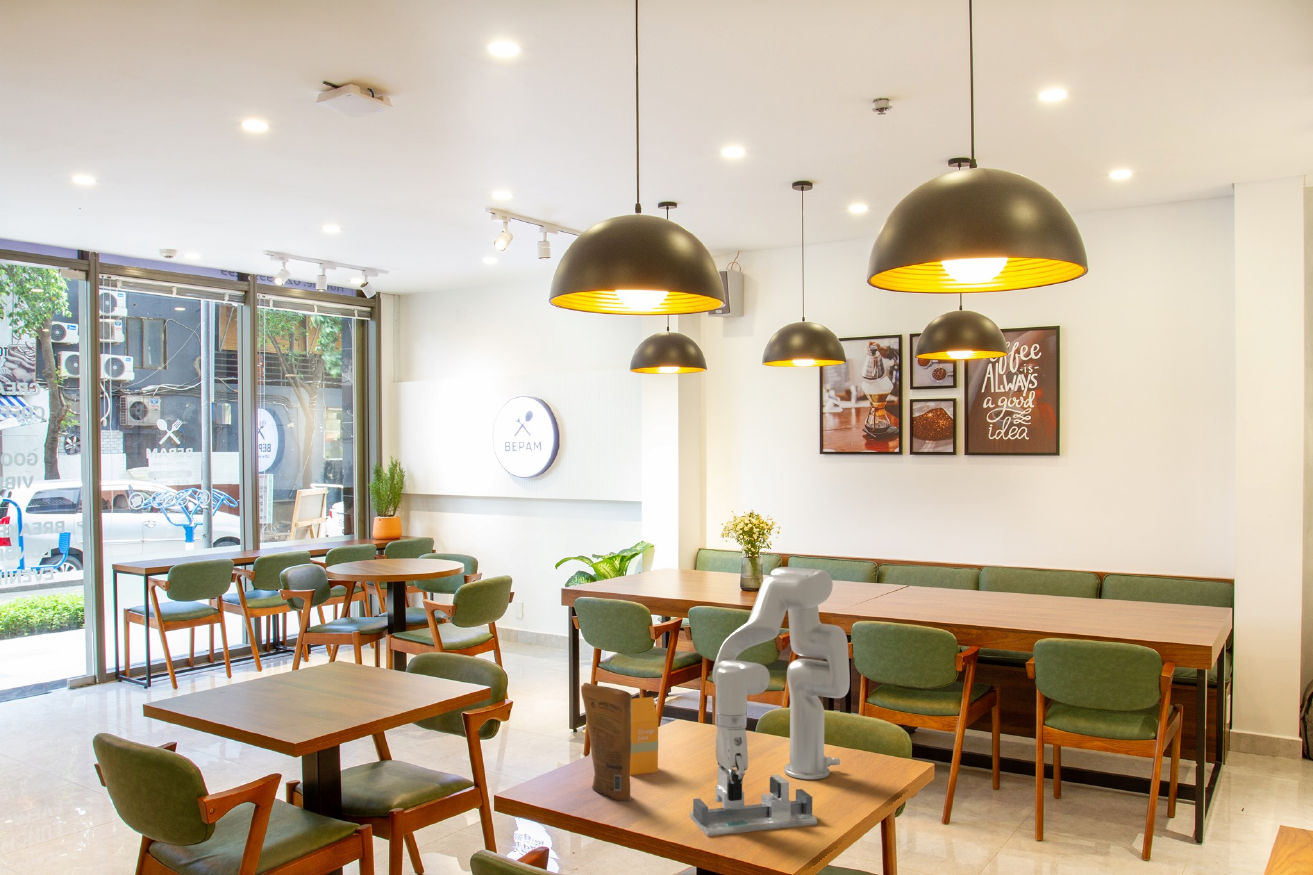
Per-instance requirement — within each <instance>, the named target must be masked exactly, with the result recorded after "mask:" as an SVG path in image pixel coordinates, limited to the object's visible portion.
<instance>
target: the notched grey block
mask: <svg viewBox="0 0 1313 875" xmlns="http://www.w3.org/2000/svg"><path fill="white" fill-rule="evenodd" d="M735 774H737V772H736V773H733V777H734V776H735ZM729 783H730V774H729V771H728V770H727V769H726V768H724V767H719V766H717V785H715V802H716V803H722V805H721V806H722V807H721V808H724V809H729V808H739V807H744V806H745V792H744V791H743V790H742V799H741V800H737V801H730V800H729Z"/></svg>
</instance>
